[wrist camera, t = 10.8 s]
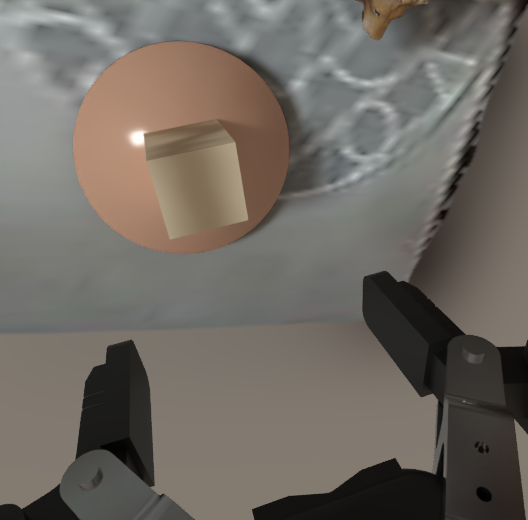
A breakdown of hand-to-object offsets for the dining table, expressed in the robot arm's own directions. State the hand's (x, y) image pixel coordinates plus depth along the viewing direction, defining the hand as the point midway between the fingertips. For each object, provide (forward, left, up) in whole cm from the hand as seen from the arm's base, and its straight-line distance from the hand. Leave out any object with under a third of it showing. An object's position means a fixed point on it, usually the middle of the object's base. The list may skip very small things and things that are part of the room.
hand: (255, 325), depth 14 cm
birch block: (0, 0, -18) cm, 18 cm away
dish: (0, 0, -20) cm, 20 cm away
